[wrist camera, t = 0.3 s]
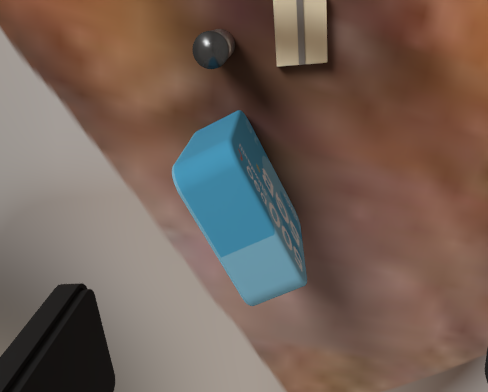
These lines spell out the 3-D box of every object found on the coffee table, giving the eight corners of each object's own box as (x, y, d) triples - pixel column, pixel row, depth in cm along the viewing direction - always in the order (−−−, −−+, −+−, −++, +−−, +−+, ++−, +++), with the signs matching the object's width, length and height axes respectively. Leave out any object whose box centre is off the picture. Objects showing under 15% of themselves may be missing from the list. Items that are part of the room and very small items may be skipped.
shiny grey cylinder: (203, 29, 36) (190, 32, 31) (234, 26, 36) (226, 29, 30) (206, 61, 37) (195, 70, 32) (236, 59, 37) (230, 67, 31)
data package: (300, 219, 42) (309, 293, 31) (257, 238, 43) (252, 316, 32) (241, 105, 38) (228, 143, 27) (196, 128, 39) (165, 174, 28)
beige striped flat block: (273, -1, 35) (273, -2, 34) (324, -6, 35) (326, -7, 34) (276, 65, 37) (276, 66, 36) (325, 61, 37) (327, 62, 36)
